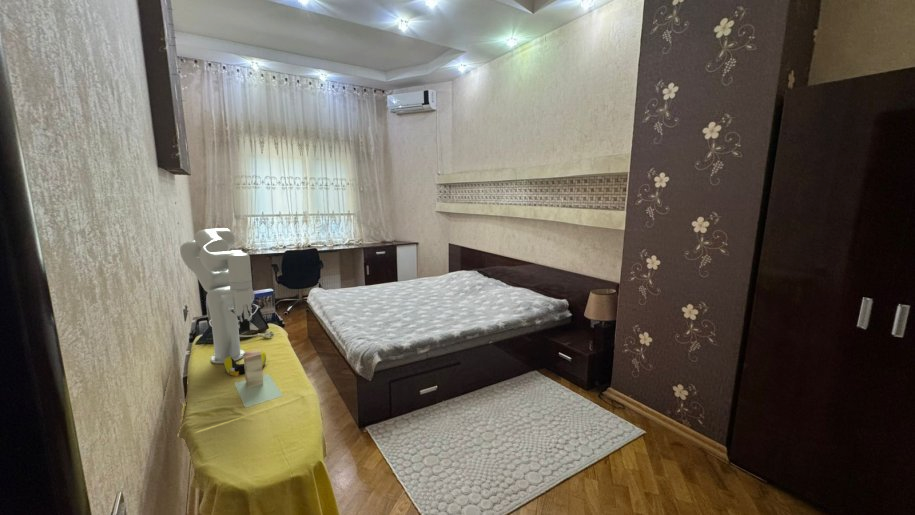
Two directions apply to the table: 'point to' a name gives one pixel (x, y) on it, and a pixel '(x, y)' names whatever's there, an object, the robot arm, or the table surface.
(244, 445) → the table surface
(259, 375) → the birch pillar
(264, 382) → the sage mat
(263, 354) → the gaming controller
